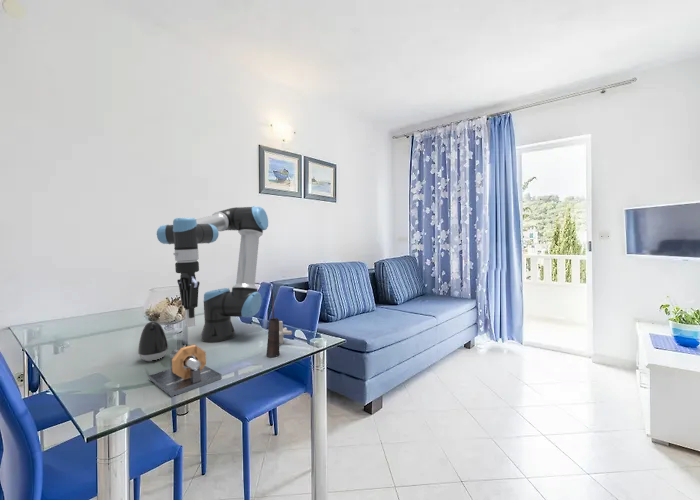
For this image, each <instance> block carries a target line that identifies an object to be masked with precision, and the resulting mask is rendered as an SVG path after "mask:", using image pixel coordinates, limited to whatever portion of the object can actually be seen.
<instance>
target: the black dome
mask: <svg viewBox="0 0 700 500" xmlns="http://www.w3.org/2000/svg"><path fill="white" fill-rule="evenodd" d="M168 343H169V342H168V338H167V336H166V333H165V331H164V328H163V327H162V325H161V324H160V323H159V322H158V321H154V320H153V321H148V323H146V324H145V325H144V327H143V329H142V330H141V334H140V338H139V342H138V349H137V350H138V351H137V352H138V354H139V357H140V358H141V360H143V361H144V362H153V361H152V360H156V359H159V360H161V359H163V358H162V357H165V356H166V354H167V351H168V349H169V344H168ZM160 358H161V359H160ZM156 361H157V360H156Z"/></svg>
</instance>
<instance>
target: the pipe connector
mask: <svg viewBox="0 0 700 500" xmlns="http://www.w3.org/2000/svg"><path fill="white" fill-rule="evenodd" d="M292 334H293V331H292V330H288V328H287V327H284V323H283V321H282V320H279V343H280V344H279V345H284V335H286V336H287V335H288V336H292Z"/></svg>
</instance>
